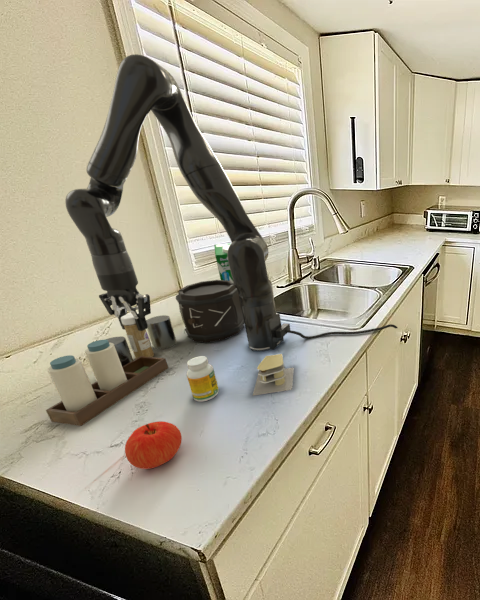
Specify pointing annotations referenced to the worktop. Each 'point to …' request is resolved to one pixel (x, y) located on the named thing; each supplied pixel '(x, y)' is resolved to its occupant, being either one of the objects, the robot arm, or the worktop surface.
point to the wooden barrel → (210, 310)
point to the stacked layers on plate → (273, 376)
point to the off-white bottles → (75, 380)
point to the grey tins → (159, 336)
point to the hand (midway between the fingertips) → (135, 328)
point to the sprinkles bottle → (137, 337)
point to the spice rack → (136, 377)
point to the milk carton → (223, 261)
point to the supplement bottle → (202, 379)
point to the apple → (153, 444)
